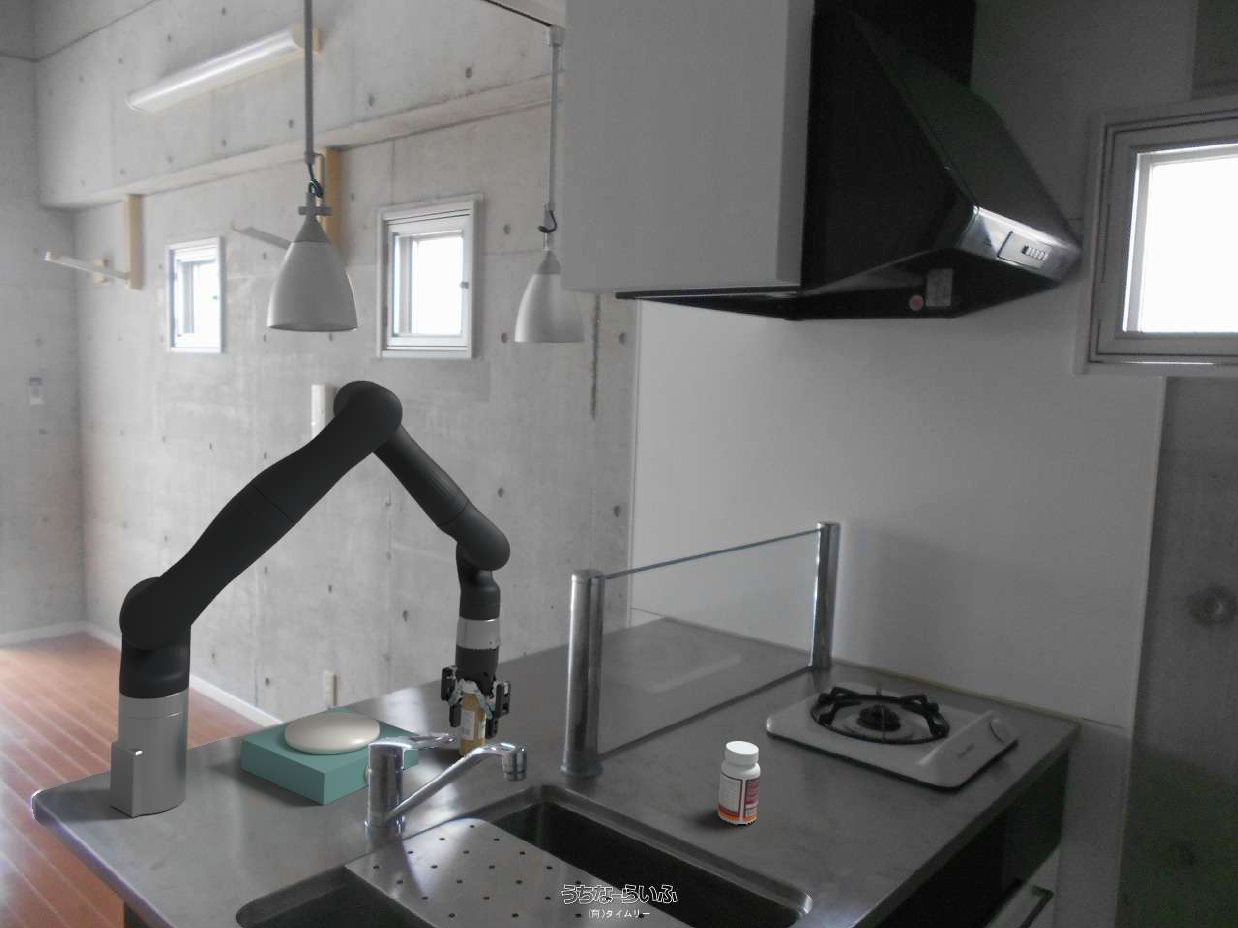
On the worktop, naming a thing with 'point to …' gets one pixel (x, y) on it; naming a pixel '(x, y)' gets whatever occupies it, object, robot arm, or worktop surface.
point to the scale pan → (331, 733)
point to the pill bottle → (739, 783)
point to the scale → (314, 763)
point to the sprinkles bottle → (471, 720)
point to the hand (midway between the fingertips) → (472, 731)
